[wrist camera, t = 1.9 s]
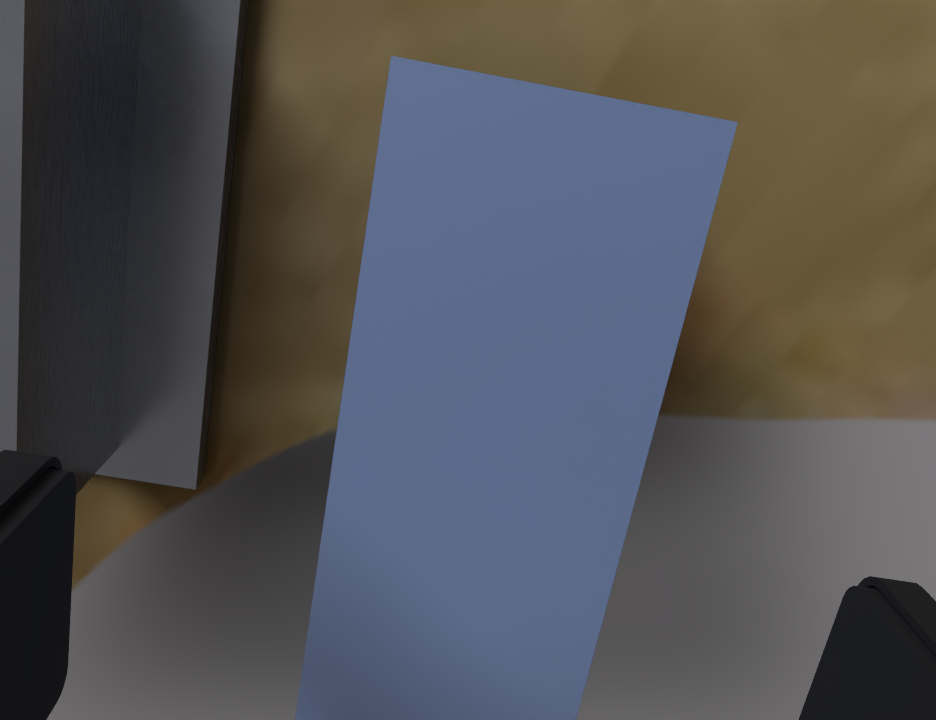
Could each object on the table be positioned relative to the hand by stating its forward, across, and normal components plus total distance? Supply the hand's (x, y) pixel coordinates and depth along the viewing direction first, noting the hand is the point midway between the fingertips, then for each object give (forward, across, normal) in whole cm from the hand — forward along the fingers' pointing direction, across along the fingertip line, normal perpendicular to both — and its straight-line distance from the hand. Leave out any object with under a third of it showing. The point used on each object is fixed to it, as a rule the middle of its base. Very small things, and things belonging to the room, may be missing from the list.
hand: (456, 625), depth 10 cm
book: (+19, -1, 0) cm, 19 cm away
